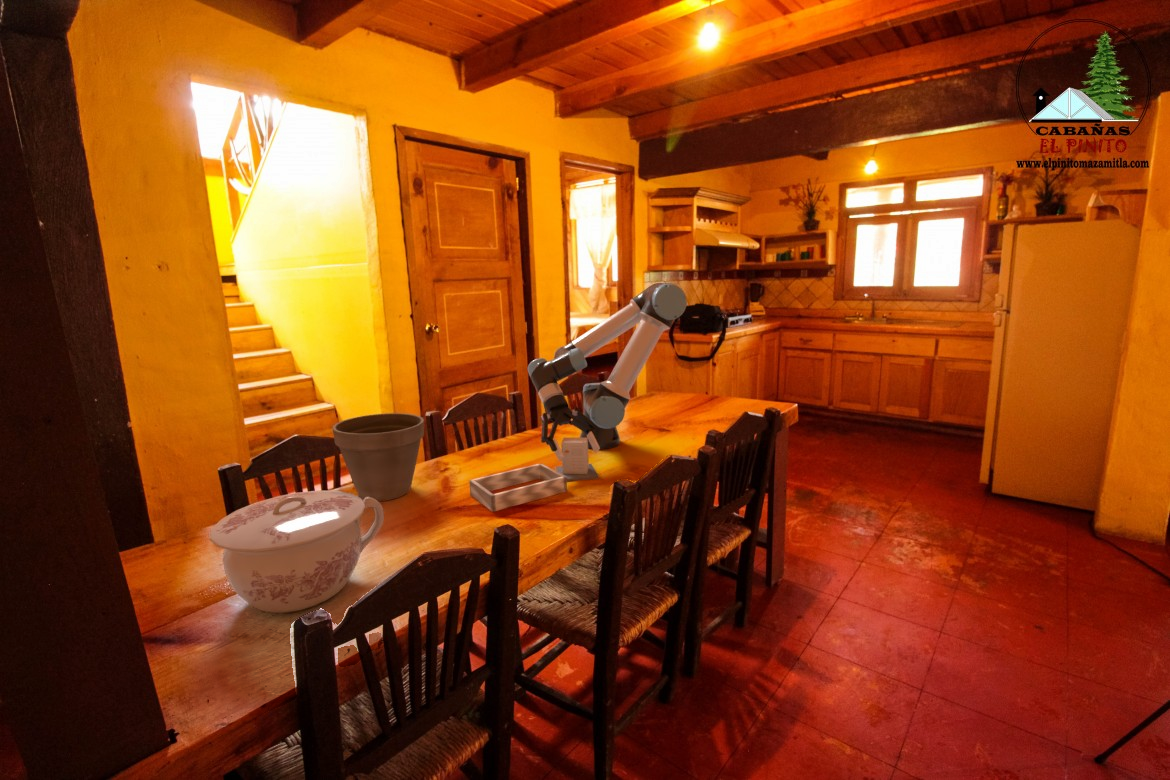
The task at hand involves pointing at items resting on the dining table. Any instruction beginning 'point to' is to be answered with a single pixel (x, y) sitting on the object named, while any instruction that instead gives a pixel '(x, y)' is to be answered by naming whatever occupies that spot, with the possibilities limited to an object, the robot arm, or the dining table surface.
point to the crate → (502, 500)
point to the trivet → (573, 477)
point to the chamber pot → (294, 547)
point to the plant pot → (380, 452)
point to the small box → (575, 455)
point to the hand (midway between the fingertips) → (580, 454)
